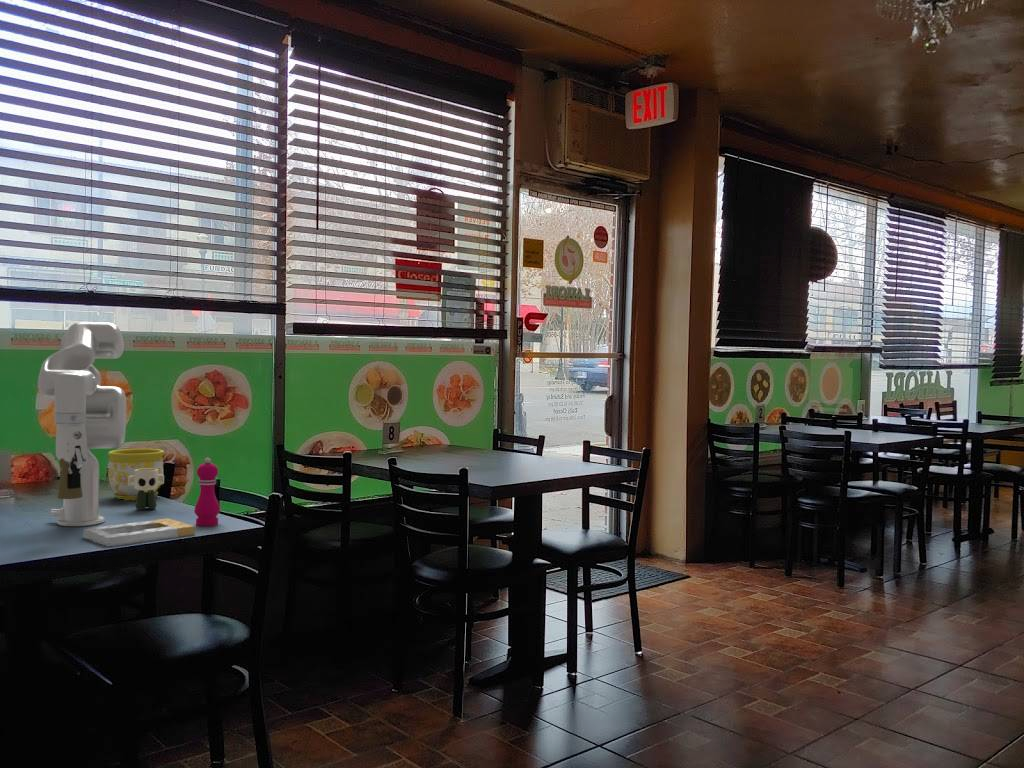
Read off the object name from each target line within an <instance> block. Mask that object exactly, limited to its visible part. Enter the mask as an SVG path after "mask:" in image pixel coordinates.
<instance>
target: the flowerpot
mask: <svg viewBox="0 0 1024 768" xmlns="http://www.w3.org/2000/svg"><path fill="white" fill-rule="evenodd" d="M164 454H165V451H164V450H163V449H157V448H124V449H114V450H113V449H112V450H110V451H108V453H107V455H108V456H109V460H108V461H109V463H108V464H109V465H108V476H107V477H108V481H109V485H110V487H111V488H112V490H113V491H114V492H115V493H114V494H113V496H114V497H116V499H117V498H118V499H117V500H119V499H125V500H124V501H129V500H132V501H136V499H137V494H138V492H139V490H137V489H135V487H134V486H128V476H134V470H136V469H144V468H152V469H158V474H163V475H164V464H163V460H164V458H163V455H164ZM158 482H161V477H158ZM131 483H134V479H131ZM161 486H162V484H160V485H158V486H157V488H156V489H153V491H154V493H155V497H156V496H157V495H158V494H159V492H158V489H160V487H161Z"/></svg>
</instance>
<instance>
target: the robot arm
mask: <svg viewBox="0 0 1024 768" xmlns="http://www.w3.org/2000/svg"><path fill="white" fill-rule="evenodd" d="M124 341H125V340H124V337H123V335H122V332H121V329H120V328H119V326H118V325H116V324H114V323H113V322H112V323H111V322H93V321H90V322H89V321H81V322H80V321H79V322H75V323H73V324H71V325H70V326H69V328H68V329H67V332H66V333H65V334H63V336H62V338H61V349H59V350H58V351H56V352H54V353H52V354H51V355H50V356H48V357H46V358H45V359H44V360H43V362H42V364H41V367H40V370H39V374H38V379H37V388H38V391H39V393H40V395H42V396H43V397H46V398H53V399H54V400H53V401H54V402H53V403H54V405H53V407H54V408H53V412H54V415H53V416H54V420H53V421H54V422H53V423H54V426H56V433H55V456H56V458H57V459H58V461H60V459H61V458H63V459H64V461H66V462H68V470H69V474H67V488H68V489H74V488H80V487H82V494H83V497H80V498H75V499H62V500H63V503H62V504H63V507H61V508H51V509H50V512H49V513H50V516H51V517H59V518H58V519H57V525H58V526H63V527H85V526H86V527H87V526H93V525H94V526H95V525H99V524H102V523H104V522H105V517H104V516H102V515H100V464H99V459H97V457H96V456H95V454H93V453H92V452H91V451H90V450H94V449H99V450H100V449H118V448H120V447H122V446H123V445H124V443H125V440H126V425H127V423H126V422H127V397H126V394H125V391H124V390H123V389H122V388H121V387H118V386H110V385H109V386H106V385H102V386H101V384H102V382H101V380H102V376H101V373H100V371H99V370H98V369H97V368H96V367H95V366H94V365H93V364H94V362H95V360H96V359H97V360H98V359H103V360H104V359H106V360H107V359H108V360H109V359H111V360H115V359H120V358H121V356H122V355H123V353H124V349H125V343H124ZM73 459H75V460H76V461H75V462H72V461H73ZM72 464H75V465H73V467H72ZM59 471H60V472H59V474H60V476H59V479H60V478H61V471H62V468H61V467H60V466H59Z"/></svg>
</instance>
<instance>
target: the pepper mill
mask: <svg viewBox="0 0 1024 768" xmlns="http://www.w3.org/2000/svg"><path fill="white" fill-rule="evenodd" d="M211 460H212V459H211V458H209V457H206V458H204V463H202V464H200V465H199V466H198V467H197V468H196V469H197V470H196V475H197V477H199V479H198V485H199V486H200V487H199V490H200V492H199V496H198V499H197V501H196V503H195V505H194V514H195V515H196V516H197V518H195V525H196V526H198V527H212V526H214V527H215V526H217V525H218V524H219V518H218V517H217V516H218V515H219V514H220V511H221V506H220V503H219V501H218V498H217V497H216V493H215V485H217V478H216V477H217V476H218V474H219V469H218V466H217V465H216V464H215V463H212V462H211Z"/></svg>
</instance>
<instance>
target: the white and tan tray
mask: <svg viewBox="0 0 1024 768" xmlns="http://www.w3.org/2000/svg"><path fill="white" fill-rule="evenodd" d="M195 528H196V527H195V525H192V524H189V523H185V522H181V521H179V520H175V519H172V518H160V519H159V518H158V519H153V520H145V521H144V520H143V521H136V522H130V523H129V522H128V523H120V524H111V525H106V526H105V525H103V526H96V527H89V528H88V527H87V528H83V534H82V535H83V537H84V538H83V539H86V538H87V539H86V540H88V539H89V540H88V541H91V540H92V542H94V543H96V542H97V543H96V544H99V543H100V544H99V545H101V544H102V546H104V545H105V546H104V547H107V546H108V547H107V548H110V547H109V546H111V547H116V546H117V545H118V546H124V545H125V546H126V545H130V544H131V545H132V544H137V543H138V544H139V543H145V542H152V541H158V540H168V539H175V538H181V537H187V536H195V533H196V532H195V531H196V530H195Z"/></svg>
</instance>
